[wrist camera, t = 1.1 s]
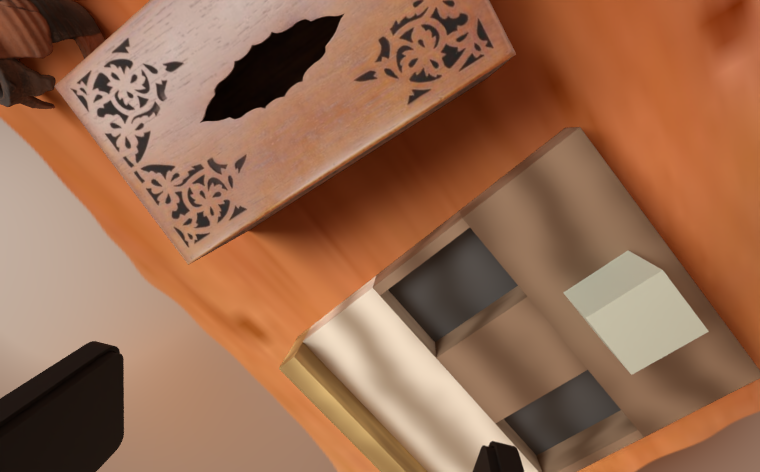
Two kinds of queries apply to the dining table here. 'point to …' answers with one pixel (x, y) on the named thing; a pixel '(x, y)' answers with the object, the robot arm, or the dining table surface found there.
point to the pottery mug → (38, 44)
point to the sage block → (635, 311)
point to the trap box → (510, 332)
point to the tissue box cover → (268, 98)
